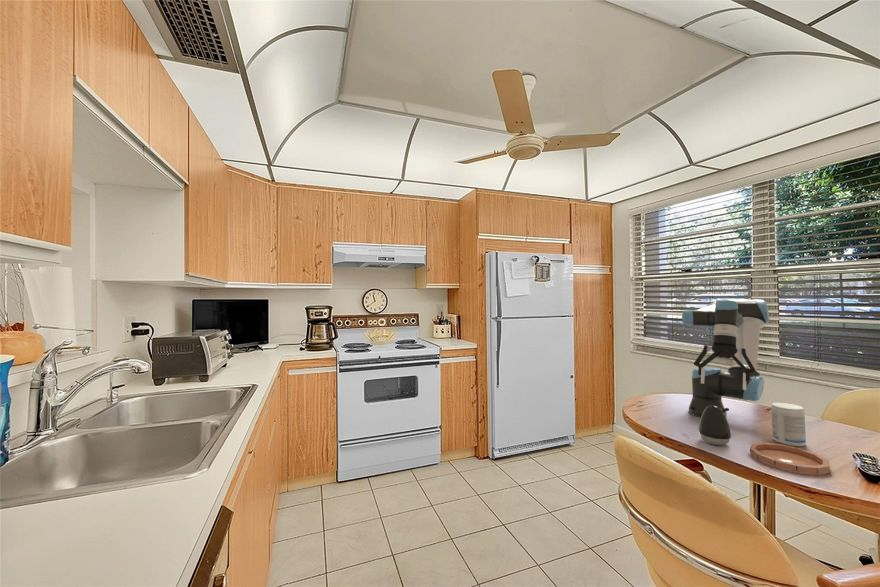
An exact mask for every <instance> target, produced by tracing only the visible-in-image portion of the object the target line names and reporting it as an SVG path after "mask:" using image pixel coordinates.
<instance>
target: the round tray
mask: <svg viewBox="0 0 880 587" xmlns="http://www.w3.org/2000/svg"><path fill="white" fill-rule="evenodd" d="M749 453H750V456H751V457H752V458H754V459H755V460H756V461H758V462H760V463H762V464H764V465H766V464H767V465H766V466H770V467H772V468H774V469H779V470H781V471H785V472H790V473H794V474H799V475H800V474H801V475H806V474H807V476H824V474H825V475H828V474H830V472H831V471H830V468H831V467H830V464H831V463H830V460H828V459H826V458H824V457H823V456H822V455H820V454H817V453H815V452H812V451H809V450H806V449H803V448H800V447H797V446H791V445H786V444H782V443H771V442H755V443H754V442H753V443H751V444H750V446H749ZM829 471H830V472H829ZM827 473H828V474H827Z"/></svg>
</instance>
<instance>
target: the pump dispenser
mask: <svg viewBox="0 0 880 587" xmlns="http://www.w3.org/2000/svg"><path fill="white" fill-rule="evenodd" d="M724 408H725V409H720V408H719V407H718V406H715V405H710V406H708V407H706V409H705V410H704V412H703V414H702V416H701V417H700V420H699V425H698V433H699V434H700V437H701V439H702V440H703V441H704V442H706V443H707V444H709V445H713V446H718V447H720V446H725V445H727V444H728V443H729V442H730V439H731V437H732V432H731V428H730V424H729V421H728V419H727V418H726V416H725V414H724V412H726V413H727V412H729V411H730V408H729V407H724Z"/></svg>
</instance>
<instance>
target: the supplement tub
mask: <svg viewBox="0 0 880 587" xmlns="http://www.w3.org/2000/svg"><path fill="white" fill-rule="evenodd" d="M770 408H771V426H772V428H771V429H772V439H773V440H774V441H775V442H777V443H778V444H782V445H787V446H791V447H803V446H806V444H807V438H806V437H807V436H806V419H805V418H806V417H805V416H806V415H805V411H804V410H805V409H804V407H803V406H801V405H798V404H791V403H787V402H785V403H784V402H772V403H771V407H770Z"/></svg>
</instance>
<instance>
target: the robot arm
mask: <svg viewBox="0 0 880 587" xmlns="http://www.w3.org/2000/svg"><path fill="white" fill-rule="evenodd" d="M681 320H682V323H683V325H685V326H690V327H714V328H713V334H714V336H713V343H712V344H713V345H712V346H709V345H707V344H705V345H703V349H702V351H701V352H700V353H699V354H698V357H697V358H696V359H695V361H693V365H694V366H695V367H696V368H693V370H692V372H691V382H692V383H691V386H692V387H691V388H692V397H691V401H690V403H689V405H688V412H690V413H689V414H691V413H692V414H691V415H693V414H694V415H693V416H695V415H697V417H699V416H700V417H699V418H701V416H702V414H703V412H704V410H705V409H706V407H708V406H710V405H715V406H718V407H719V408H720V409H725V408H726V407H725V406H724V403H723V400H722V397H727V398H731V399H736V400H737V399H738V400H744V401H751V402H757V401H759V400H760V399H761V398H762V395H763V393H764V388H765V379H764V377H763V376H761V374H760V372H759V371H758V370H757V363H758V354H759V345H760V344H759V343H760V333H761V329H762V328H764V327H765V324H768V323H770V312H769V307H768V303H767V301H766V300H764V299H755V298H754V299H719V300H717V301H714V302H711V303H708V304H707V305H706V306H705V307H701V308H699V309H685V310H683V311H682V314H681ZM711 350H712V352H713V353H712V354H711V355H709V356H707V358H705V357H706V355H707V353H708V352H710V351H711ZM717 357H718V358H720V359H724V358H725V359H731V358H732V359H733V361H732V366H730V367H728V369H727V372H726V371H722V369H721V368H719V367H706V366H707V365H708V364H710V362H711V363H712V361H713V360H714V359H716V358H717ZM704 358H705V360H703V359H704ZM702 360H703V361H702ZM724 414H725V416H726V418H727V411H726V412H724Z"/></svg>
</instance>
